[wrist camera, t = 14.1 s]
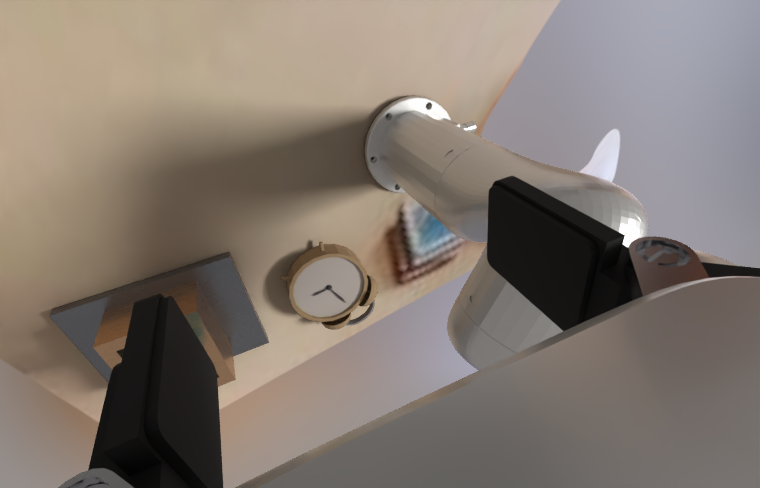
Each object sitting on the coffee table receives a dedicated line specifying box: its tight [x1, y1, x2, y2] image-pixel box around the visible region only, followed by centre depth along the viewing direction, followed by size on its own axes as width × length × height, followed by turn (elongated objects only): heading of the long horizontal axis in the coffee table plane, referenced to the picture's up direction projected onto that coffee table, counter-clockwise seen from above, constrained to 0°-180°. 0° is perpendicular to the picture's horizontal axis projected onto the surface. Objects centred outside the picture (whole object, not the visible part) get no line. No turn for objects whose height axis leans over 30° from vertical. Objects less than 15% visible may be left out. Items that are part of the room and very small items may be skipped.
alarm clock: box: [280, 242, 378, 330], centre depth 56 cm, size 11×5×15 cm
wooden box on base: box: [49, 252, 269, 386], centre depth 48 cm, size 20×16×7 cm
